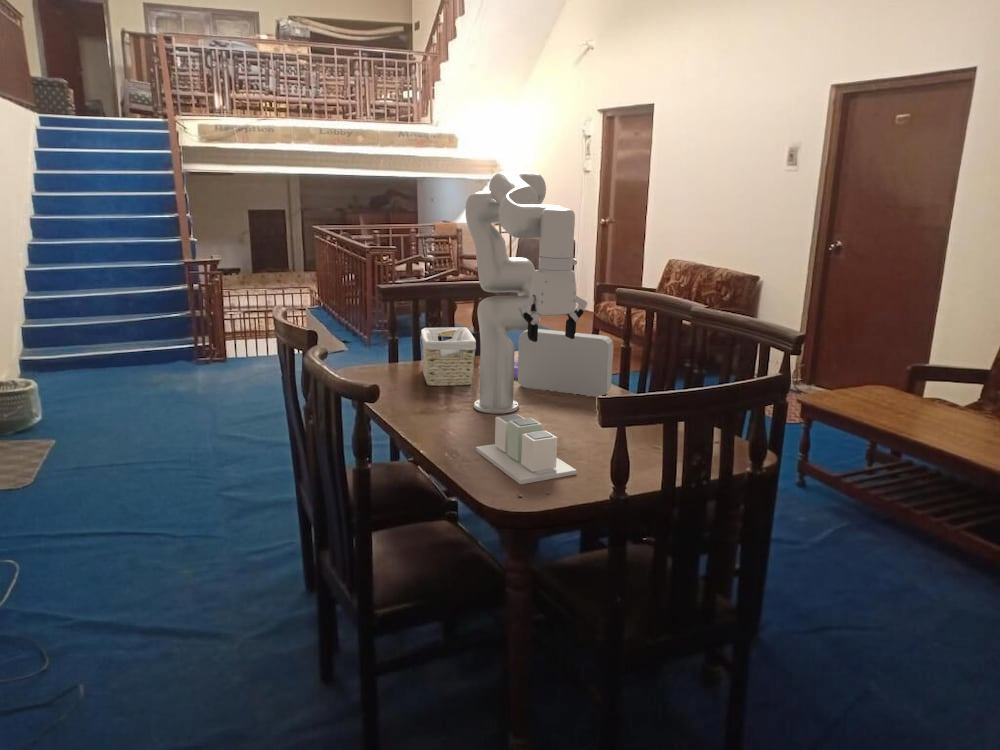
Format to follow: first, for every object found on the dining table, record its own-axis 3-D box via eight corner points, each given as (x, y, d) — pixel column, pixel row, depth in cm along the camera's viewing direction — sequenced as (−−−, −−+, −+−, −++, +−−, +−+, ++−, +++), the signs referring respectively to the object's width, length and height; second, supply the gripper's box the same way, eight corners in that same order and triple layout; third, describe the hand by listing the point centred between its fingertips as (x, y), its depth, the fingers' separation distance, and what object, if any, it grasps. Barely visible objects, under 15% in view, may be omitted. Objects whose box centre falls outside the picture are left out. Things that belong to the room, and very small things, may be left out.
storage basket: (420, 369, 249) (420, 326, 245) (467, 368, 251) (468, 326, 248) (424, 388, 226) (424, 341, 222) (476, 387, 229) (477, 340, 225)
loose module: (507, 454, 168) (508, 420, 166) (530, 450, 171) (531, 416, 169) (517, 461, 164) (518, 426, 162) (541, 457, 166) (542, 423, 164)
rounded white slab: (612, 392, 226) (616, 335, 221) (605, 398, 219) (609, 339, 215) (526, 381, 237) (527, 326, 232) (517, 386, 230) (518, 330, 225)
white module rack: (475, 450, 174) (476, 415, 172) (527, 442, 180) (528, 408, 178) (520, 484, 155) (521, 445, 153) (576, 474, 161) (578, 436, 159)
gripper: (580, 261, 171) (575, 333, 175) (513, 263, 163) (510, 338, 168) (597, 265, 164) (592, 340, 169) (528, 268, 157) (525, 345, 162)
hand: (551, 339), depth 169 cm, fingers open, 9 cm apart
